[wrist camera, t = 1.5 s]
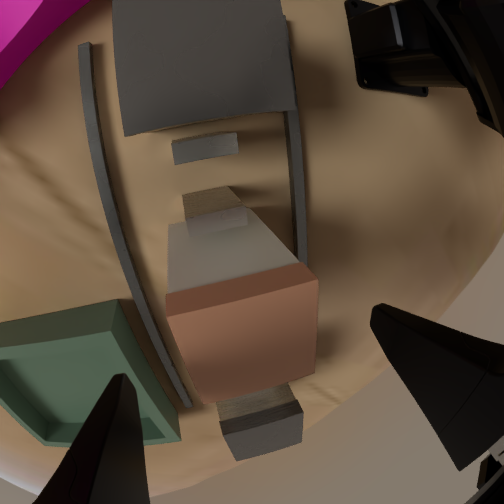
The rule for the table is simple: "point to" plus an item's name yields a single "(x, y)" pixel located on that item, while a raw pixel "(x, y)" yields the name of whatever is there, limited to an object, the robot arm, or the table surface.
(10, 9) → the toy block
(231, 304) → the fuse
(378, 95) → the table surface
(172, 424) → the tray
